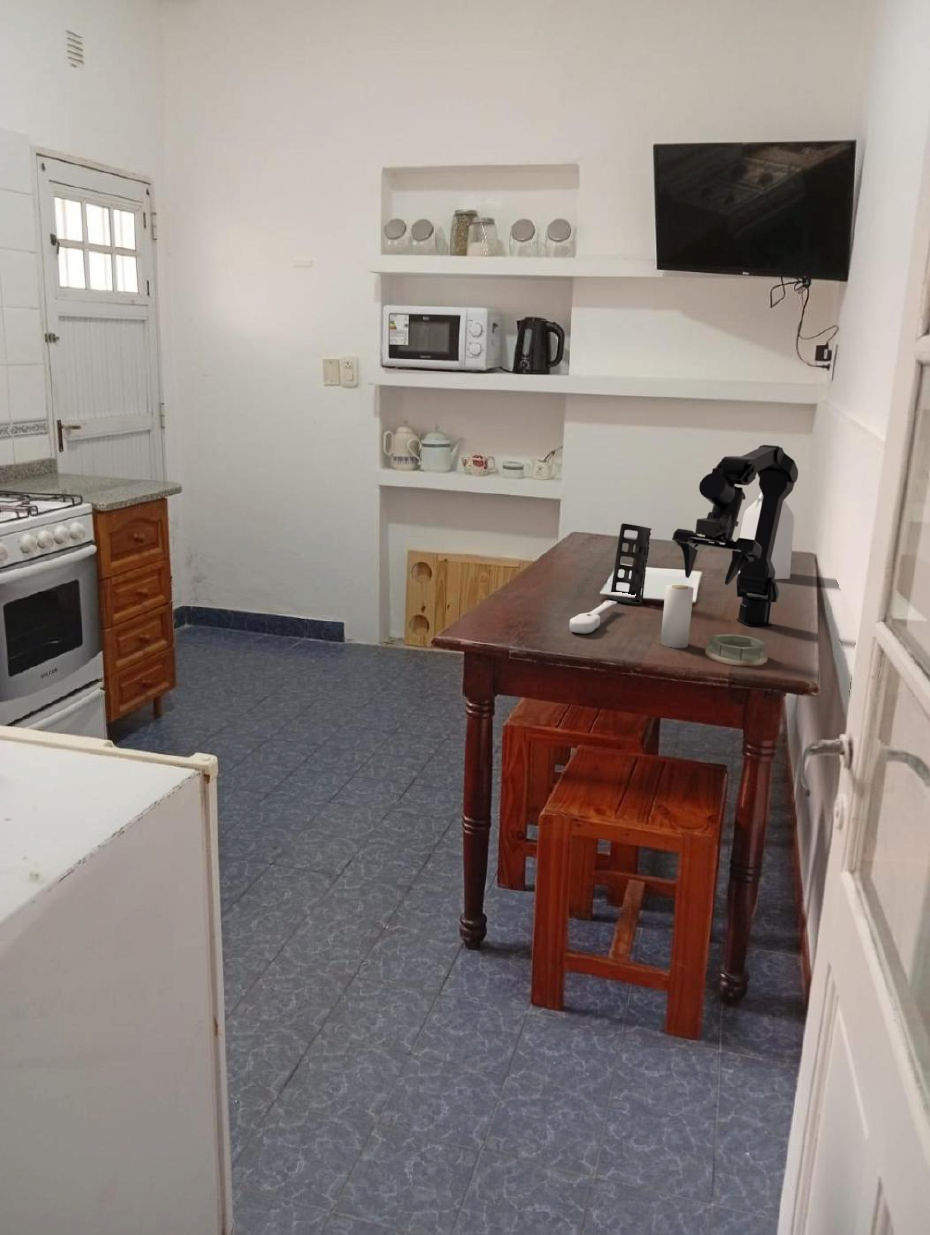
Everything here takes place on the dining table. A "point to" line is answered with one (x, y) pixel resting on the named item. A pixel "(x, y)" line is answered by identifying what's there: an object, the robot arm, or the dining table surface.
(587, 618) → the white long handled piece
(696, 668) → the dining table surface
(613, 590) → the holder
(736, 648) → the stand
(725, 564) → the dining table surface
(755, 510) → the milk
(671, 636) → the paper roll
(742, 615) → the robot arm
